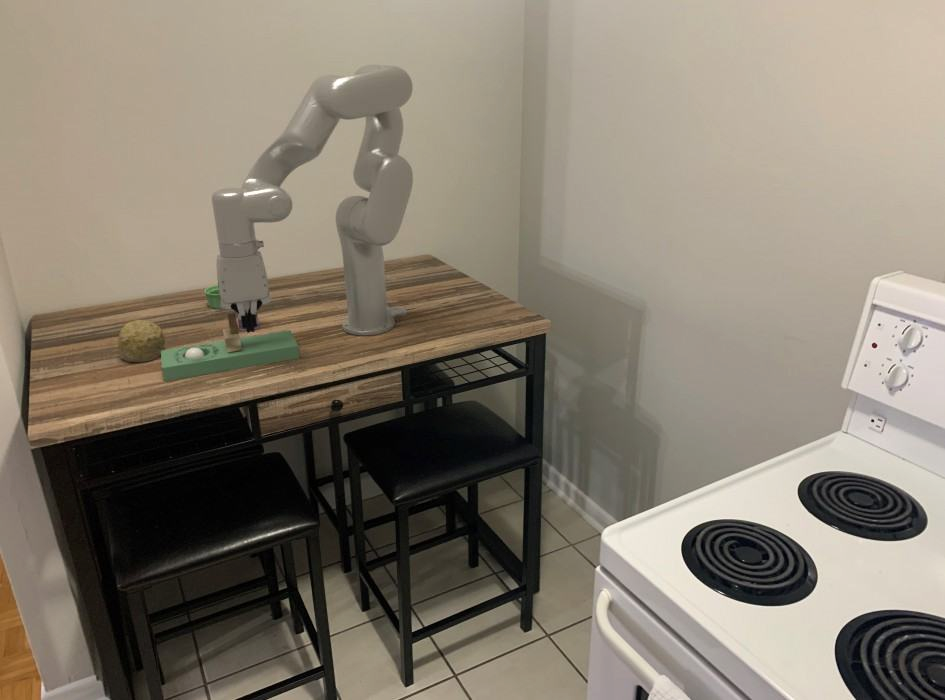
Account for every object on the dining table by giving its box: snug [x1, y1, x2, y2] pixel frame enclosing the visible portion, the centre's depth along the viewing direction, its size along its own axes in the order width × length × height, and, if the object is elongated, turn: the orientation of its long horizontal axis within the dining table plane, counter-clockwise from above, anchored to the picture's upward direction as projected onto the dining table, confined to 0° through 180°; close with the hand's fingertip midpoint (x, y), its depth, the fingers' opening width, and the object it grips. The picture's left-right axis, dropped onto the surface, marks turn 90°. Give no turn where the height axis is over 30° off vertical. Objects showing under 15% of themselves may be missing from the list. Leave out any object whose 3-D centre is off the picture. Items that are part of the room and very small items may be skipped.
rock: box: [117, 319, 166, 363], centre depth 164 cm, size 10×11×10 cm
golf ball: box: [185, 348, 204, 359], centre depth 158 cm, size 4×4×4 cm
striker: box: [222, 312, 242, 352], centre depth 159 cm, size 3×6×7 cm, turn 23°
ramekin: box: [204, 284, 223, 310], centre depth 195 cm, size 9×9×4 cm
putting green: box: [160, 329, 300, 382], centre depth 161 cm, size 28×10×3 cm, turn 112°
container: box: [236, 301, 260, 332], centre depth 177 cm, size 5×5×15 cm
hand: (250, 330), depth 160 cm, fingers closed
